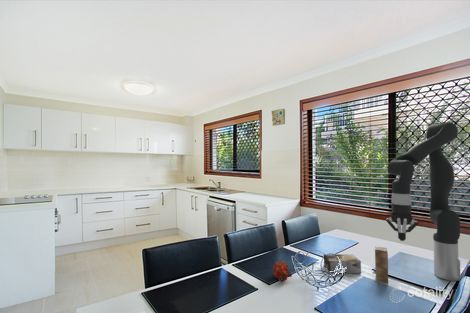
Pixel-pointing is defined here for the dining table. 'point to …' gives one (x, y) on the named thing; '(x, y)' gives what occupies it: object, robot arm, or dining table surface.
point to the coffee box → (347, 260)
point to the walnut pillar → (381, 264)
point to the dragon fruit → (281, 270)
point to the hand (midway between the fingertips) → (401, 240)
